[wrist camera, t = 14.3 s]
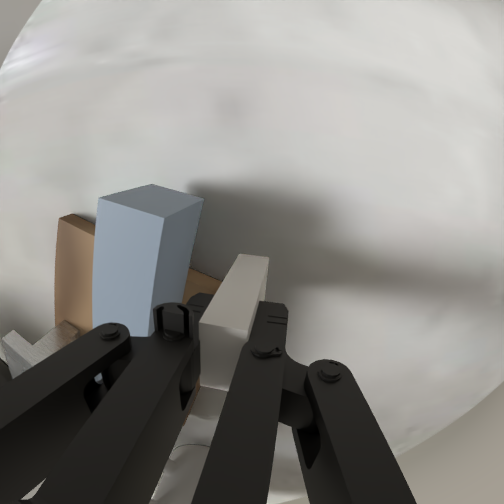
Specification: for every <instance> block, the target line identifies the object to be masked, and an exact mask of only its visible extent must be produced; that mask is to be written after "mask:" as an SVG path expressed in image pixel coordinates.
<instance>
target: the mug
mask: <svg viewBox="0 0 504 504" xmlns="http://www.w3.org/2000/svg"><path fill="white" fill-rule="evenodd" d="M209 449H210V447H207V446H202V445H183V446H180V447H178V448H176V449H175V450H174V451H173V453H172V455H171V457H170V459H169V458H168V461H167V463H166V465H165V467H164V470H163V473H164V474H163V476H162V478H161V481H160V483H159V485H158V488H157V490H156V492H155V495H154V497H153V499H151V500H150V502H149V504H191V502H192V499H193V496H194V493H195V490H196V487H197V484H198V481H199V478H200V475H201V472H202V469H203V467H204V464H205V461H206V458H207V455H208V452H209Z"/></svg>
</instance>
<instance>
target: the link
mask: <svg viewBox="0 0 504 504" xmlns="http://www.w3.org/2000/svg"><path fill="white" fill-rule="evenodd" d="M203 202H204V199H203V198H200V197H196V196H193V195H189V194H186V193H182V192H179V191H175V190H172V189H168V188H165V187H161V186H157V185H154V184H150V185H146V186H142V187H138V188H134V189H130V190H126V191H122V192H118V193H114V194H111V195H107V196H103V197H100V198H99V199H98V207H97V216H96V227H95V238H94V253H93V277H92V320H93V329H94V328H95V327H97V326H99V325H101V324H104V323H110V322H113V323H120V324H123V325H125V326H126V327H127V328H128V329H129V332H130V336H139V337H148V336H151V335H152V333H153V332H154V331H155V329H154V318H153V308H154V307H156V306H157V305H160V304H163V303H169V302H176V303H182V300H183V294H184V289H185V284H186V279H187V274H188V269H189V265H190V260H191V255H192V250H193V246H194V241H195V237H196V232H197V228H198V223H199V219H200V215H201V211H202V206H203ZM94 378H95V381H99V380H101V379H102V376H101V373H100V374H98V375H97V376H96V377H94Z"/></svg>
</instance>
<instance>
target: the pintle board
mask: <svg viewBox="0 0 504 504" xmlns="http://www.w3.org/2000/svg"><path fill="white" fill-rule="evenodd" d="M95 227H96V225H94V224H92V223H90V222H88V221H86V220H84V219H82V218H80V217H78V216H76V215H74V214H70V215H67V216H64V217H61V218H59V222H58V232H57V243H56V258H55V327H56V326H57V325H58V324H59V323H61V322H62V321H63V320H65V321H67V322H68V323H70V324H72V325H73V326H75V327H76V328H78V329H79V330H80V337H81V336H82V335H84V334H86V333H87V332H89V331H90V330H92V329H93V320H92V277H93V253H94V238H95ZM221 284H222V282H221V281H219V280H217V279H214V278H212V277H209V276H207V275H205V274H202V273H200V272H198V271H195V270H193V269H191V268H189V269H188V274H187V279H186V284H185V289H184V294H183V300H182V304H186V303H187V302H188V300H189V299H190V297H192V296H194V295H195V294H197V293H199V292H201V293H207V294H213V295H215V294H216V292H217V290H218V289H219V287H220V285H221ZM199 388H200V376H199V378H198V380H197V382H196V395H195V398H196V396H197V393H198V391H199ZM195 398H194V400H193V403H194V401H195ZM193 403H192V405H193ZM192 405H191V407H190V410H191V408H192ZM190 410H189V412H188V414H187V417H188V415H189V413H190ZM187 417H186V419H185V421H184V424H185V422H186V420H187ZM184 424H183V426H184Z"/></svg>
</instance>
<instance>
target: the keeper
mask: <svg viewBox="0 0 504 504" xmlns="http://www.w3.org/2000/svg"><path fill="white" fill-rule="evenodd" d="M79 337H80V330H79V329H78V328H76V327H75V326H73V325H72V324H70V323H68V322H67V321H65V320H63V321H62V322H61V323H59V324H58V325H57V326H56V327H54V328H53V329H52V330H51V331H50V332H48V333H47V334H46V335H45V336H44V337H42V338H41V339H40V340H39V341H38V342H36V343H35V344H34V345H31V344H30V343H29V342H28V341H26V340H25V339H24V338H23V337H21V336H20V335H19V334H18V333H17V332H16V331H14V330H12V331H11V332H9V333H8V334H7V335H6V336H4V337H3V338H2V343H3V347H4V351H5V355H6V359H7V363H8V366H9V370H10V373H11V377H12V379H14V378H15V377H17V376H18V375H20V374H22V373H23V372H25V371H26V370H28V369H29V368H31V367H33V366H34V365H36V364H37V363H39V362H41V361H42V360H44V359H45V358H47V357H49V356H50V355H52V354H53V353H55V352H57V351H58V350H60V349H61V348H63V347H65V346H66V345H68V344H69V343H71V342H73V341H74V340H76V339H77V338H79Z"/></svg>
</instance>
